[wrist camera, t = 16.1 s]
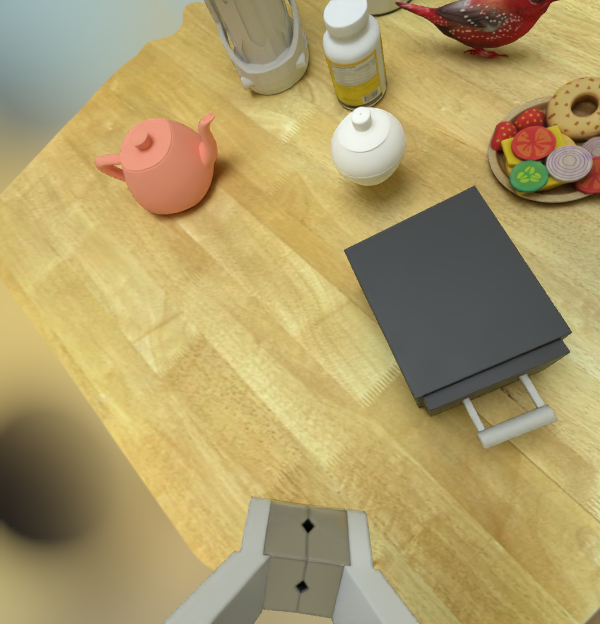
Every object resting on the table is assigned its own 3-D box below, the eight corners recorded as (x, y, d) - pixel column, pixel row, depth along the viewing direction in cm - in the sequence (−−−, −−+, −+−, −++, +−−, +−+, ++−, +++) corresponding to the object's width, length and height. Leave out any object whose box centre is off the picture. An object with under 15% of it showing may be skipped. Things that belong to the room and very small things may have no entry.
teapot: (131, 159, 64) (84, 114, 55) (243, 125, 60) (210, 71, 51) (128, 231, 60) (77, 195, 52) (247, 201, 56) (213, 156, 47)
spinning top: (422, 174, 50) (419, 98, 39) (381, 225, 50) (366, 163, 39) (371, 146, 53) (354, 69, 42) (331, 194, 53) (304, 128, 42)
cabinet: (542, 356, 41) (572, 332, 32) (418, 408, 43) (415, 399, 34) (467, 234, 46) (474, 185, 38) (360, 285, 48) (343, 249, 39)
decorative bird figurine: (541, 73, 49) (565, -12, 40) (394, 56, 56) (386, -21, 47) (549, 53, 50) (575, -36, 40) (402, 38, 56) (396, -41, 47)
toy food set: (601, 86, 47) (613, 62, 44) (650, 189, 42) (666, 170, 39) (473, 125, 50) (475, 105, 47) (506, 224, 45) (511, 209, 42)
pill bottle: (361, 63, 57) (344, -24, 46) (398, 84, 54) (389, -4, 44) (327, 99, 57) (302, 19, 46) (362, 121, 54) (345, 42, 44)
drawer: (572, 411, 38) (604, 404, 31) (451, 459, 40) (454, 463, 33) (472, 250, 45) (480, 213, 38) (372, 297, 46) (361, 271, 39)
